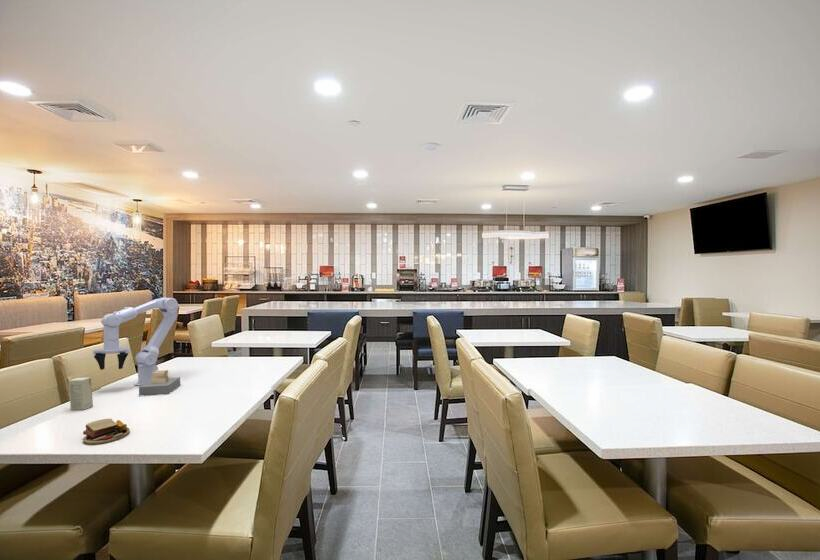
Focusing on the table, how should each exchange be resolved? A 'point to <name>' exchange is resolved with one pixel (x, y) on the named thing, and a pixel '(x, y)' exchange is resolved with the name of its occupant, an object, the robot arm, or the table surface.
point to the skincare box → (80, 393)
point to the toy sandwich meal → (104, 431)
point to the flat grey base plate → (159, 387)
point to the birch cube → (159, 376)
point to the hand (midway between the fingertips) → (111, 368)
